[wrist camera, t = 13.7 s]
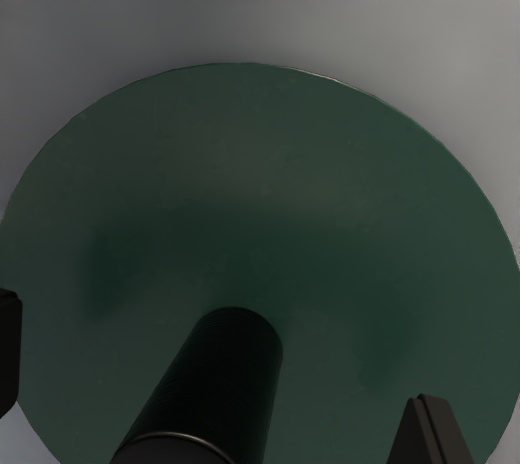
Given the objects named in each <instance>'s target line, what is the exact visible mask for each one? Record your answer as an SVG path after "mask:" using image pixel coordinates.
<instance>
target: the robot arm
mask: <svg viewBox="0 0 520 464" xmlns="http://www.w3.org/2000/svg"><path fill="white" fill-rule="evenodd" d="M22 311H23V303H22V301H21V300H20V299H18V296H17V293H16V292H14V291H11V290H7V289H3V288H0V419H1V418H2V417H3V416H4V415H5V414H6V413H7V412H8V411H9V410H10V409H11V408H12V407H13V405H14V404H15V402H16V400H17V397H18V393H19V375H20V353H21V332H22ZM386 464H475V463H474V461H473V459H472V456H471V454H470V451H469V449H468V447H467V444H466V442H465V440H464V437H463V435H462V433H461V430H460V428H459V426H458V423H457V421H456V419H455V416H454V414H453V412H452V409H451V407H450V405H449V402H448V401H447V400H446V399H442V398H438V397H434V396H430V395H427V394H423V393H420V394H419V395H418V396H417V398H416V399H415V398H409V399H408V401H407V404H406V407H405V410H404V412H403V415H402V418H401V421H400V424H399V427H398V430H397V433H396V436H395V439H394V442H393V445H392V448H391V451H390V454H389V457H388V460H387V463H386Z"/></svg>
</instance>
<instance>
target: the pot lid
mask: <svg viewBox="0 0 520 464" xmlns="http://www.w3.org/2000/svg"><path fill="white" fill-rule="evenodd" d="M0 288H3V289H7V290H11V291H14V292H16V293H17V296H18V299H20V300H21V301H22V303H23V311H22V332H21V353H20V375H19V393H18V397H17V402H18V404H19V406H20V407H21V409H22V411H23V413H24V414H25V416H26V418H27V420H28V421H29V423H30V425H31V426H32V428H33V429H34V431H35V432H36V433H37V435H38V436H39V437H40V439H41V440H42V442H43V443H44V444H45V446H46V447H47V448H48V450H49V451H50V452H51V453H52V454H53V455H54V457H55V458H56V459H57V460H58V461H59V462H60V463H61V464H386V463H387V460H388V457H389V454H390V451H391V448H392V445H393V442H394V439H395V436H396V433H397V430H398V427H399V424H400V421H401V418H402V415H403V412H404V410H405V407H406V404H407V401H408V399H409V398H415V399H416V398H417V396H418V395H419V394H420V393H423V394H427V395H430V396H434V397H438V398H442V399H446V400H447V401H448V402H449V405H450V407H451V409H452V412H453V414H454V416H455V419H456V421H457V423H458V426H459V428H460V430H461V433H462V435H463V437H464V440H465V442H466V444H467V447H468V449H469V451H470V454H471V456H472V459H473V461H474V463H475V464H485V462H486V461H487V459H488V458H489V457H490V455H491V454H492V452H493V451H494V450H495V448H496V446H497V444H498V442H499V441H500V439H501V437H502V435H503V433H504V431H505V429H506V427H507V425H508V423H509V421H510V419H511V416H512V413H513V410H514V407H515V404H516V401H517V398H518V395H519V392H520V271H519V268H518V265H517V262H516V258H515V255H514V252H513V249H512V245H511V243H510V241H509V238H508V236H507V234H506V232H505V230H504V228H503V226H502V224H501V222H500V220H499V218H498V216H497V214H496V212H495V210H494V208H493V206H492V205H491V203H490V202H489V200H488V199H487V197H486V196H485V194H484V193H483V192H482V190H481V189H480V187H479V186H478V184H477V183H476V181H475V180H474V178H473V177H472V175H471V174H470V173H469V172H468V171H467V170H466V169H465V168H464V167H463V165H462V164H461V163H460V162H459V161H458V160H457V159H456V158H455V157H454V156H453V155H452V154H451V152H450V151H449V150H448V149H447V148H446V147H445V146H444V145H443V144H442V143H441V142H440V141H438V140H437V139H436V138H435V137H434V136H432V135H431V134H430V133H429V132H427V131H426V130H425V129H424V128H422V127H421V126H420V125H419V124H418V123H416V122H415V121H414V120H413V119H411V118H410V117H409V116H407V115H405V114H404V113H402V112H400V111H399V110H397V109H395V108H394V107H392V106H390V105H389V104H387V103H385V102H384V101H382V100H380V99H379V98H377V97H375V96H374V95H371V94H369V93H367V92H364V91H362V90H360V89H357V88H355V87H353V86H350V85H348V84H346V83H343V82H341V81H339V80H336V79H334V78H330V77H326V76H323V75H319V74H315V73H311V72H308V71H304V70H300V69H296V68H292V67H284V66H276V65H268V64H260V63H210V64H204V65H197V66H191V67H185V68H179V69H173V70H169V71H166V72H163V73H160V74H157V75H154V76H150V77H147V78H144V79H141V80H138V81H135V82H133V83H131V84H129V85H127V86H125V87H123V88H121V89H119V90H117V91H115V92H112V93H110V94H108V95H106V96H104V97H102V98H101V99H99V100H98V101H96V102H95V103H94V104H92V105H91V106H89V107H88V108H86V109H85V110H83V111H82V112H81V113H79V114H78V115H76V116H75V117H73V118H72V119H71V120H70V121H69V122H68V123H67V124H66V125H65V126H64V127H63V128H62V129H60V130H59V131H58V132H57V133H56V134H55V135H54V136H53V137H52V138H51V139H50V140H49V141H48V142H47V143H46V144H45V146H44V147H43V148H42V150H41V151H40V152H39V153H38V155H37V156H36V157H35V158H34V160H33V161H32V162H31V164H30V165H29V166H28V167H27V169H26V171H25V172H24V174H23V176H22V178H21V179H20V181H19V183H18V185H17V186H16V188H15V190H14V192H13V193H12V195H11V198H10V200H9V203H8V205H7V208H6V210H5V213H4V216H3V218H2V221H1V223H0Z"/></svg>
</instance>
